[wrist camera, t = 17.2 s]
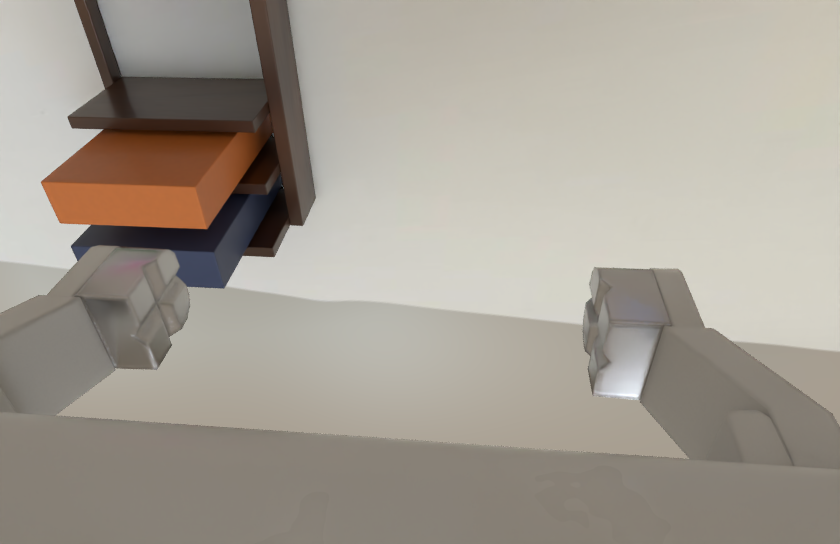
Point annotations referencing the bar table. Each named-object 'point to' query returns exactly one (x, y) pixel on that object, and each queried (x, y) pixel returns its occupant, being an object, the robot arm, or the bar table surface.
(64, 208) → the orange book
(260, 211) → the navy book
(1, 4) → the bar table surface
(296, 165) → the book rack
